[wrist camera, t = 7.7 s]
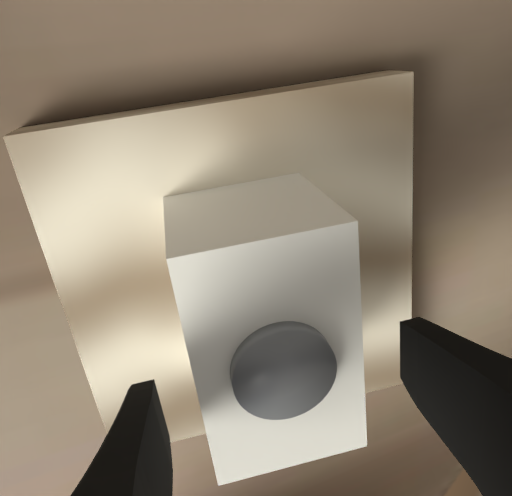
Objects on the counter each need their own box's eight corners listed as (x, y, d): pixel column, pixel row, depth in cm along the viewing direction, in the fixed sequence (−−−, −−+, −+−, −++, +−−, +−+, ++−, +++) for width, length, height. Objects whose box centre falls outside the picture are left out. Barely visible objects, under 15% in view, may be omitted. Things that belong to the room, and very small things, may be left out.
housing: (315, 350, 20) (373, 458, 15) (202, 376, 20) (220, 499, 14) (298, 172, 17) (365, 227, 12) (162, 197, 16) (166, 267, 11)
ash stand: (391, 357, 24) (410, 381, 22) (118, 423, 22) (114, 456, 20) (387, 70, 18) (413, 71, 16) (19, 127, 16) (3, 136, 15)
